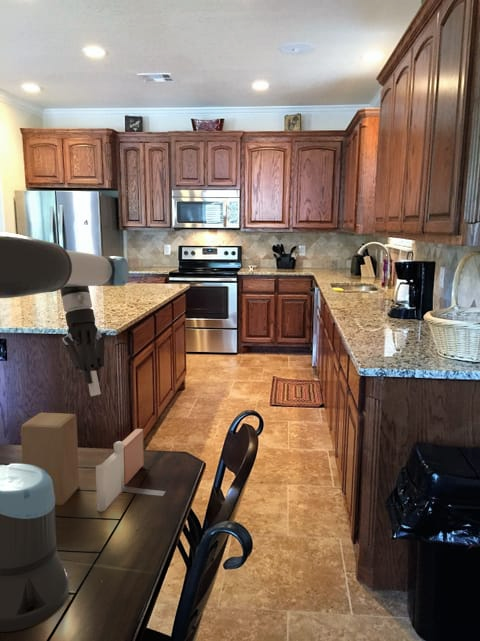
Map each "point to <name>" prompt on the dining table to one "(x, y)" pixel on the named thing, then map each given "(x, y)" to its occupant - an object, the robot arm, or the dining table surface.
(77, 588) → the dining table surface
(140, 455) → the terracotta rectangular slab
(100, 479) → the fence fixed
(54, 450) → the wooden block
